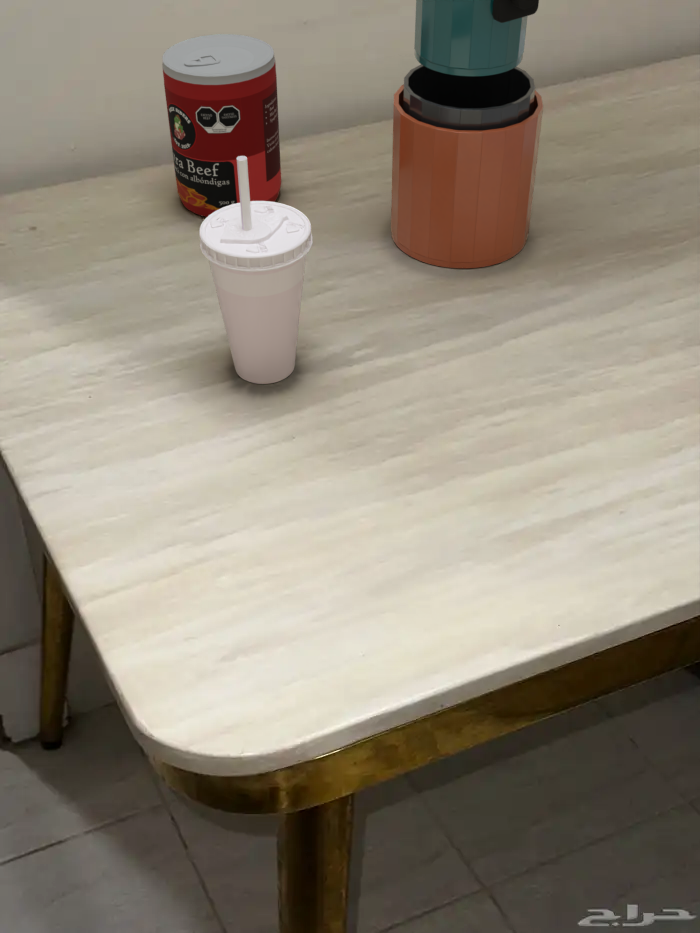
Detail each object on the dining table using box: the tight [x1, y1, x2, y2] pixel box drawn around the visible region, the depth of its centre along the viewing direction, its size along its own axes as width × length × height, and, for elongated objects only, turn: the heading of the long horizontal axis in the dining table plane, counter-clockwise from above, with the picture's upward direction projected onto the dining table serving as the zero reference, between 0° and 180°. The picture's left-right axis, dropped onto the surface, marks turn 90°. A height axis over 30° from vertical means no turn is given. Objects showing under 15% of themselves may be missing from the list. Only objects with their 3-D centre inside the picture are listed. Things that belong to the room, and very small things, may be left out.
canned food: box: [161, 33, 282, 218], centre depth 81 cm, size 8×8×11 cm
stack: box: [390, 83, 544, 269], centre depth 77 cm, size 10×10×10 cm
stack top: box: [403, 64, 536, 131], centre depth 77 cm, size 9×9×11 cm
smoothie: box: [198, 156, 313, 385], centre depth 64 cm, size 6×6×14 cm
